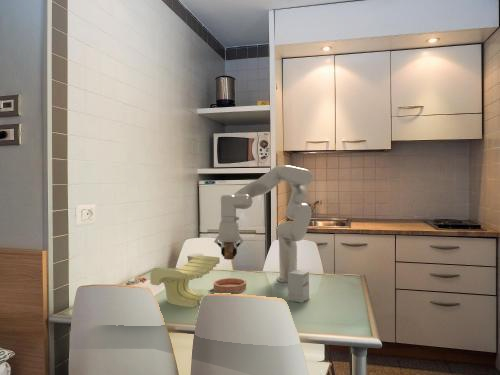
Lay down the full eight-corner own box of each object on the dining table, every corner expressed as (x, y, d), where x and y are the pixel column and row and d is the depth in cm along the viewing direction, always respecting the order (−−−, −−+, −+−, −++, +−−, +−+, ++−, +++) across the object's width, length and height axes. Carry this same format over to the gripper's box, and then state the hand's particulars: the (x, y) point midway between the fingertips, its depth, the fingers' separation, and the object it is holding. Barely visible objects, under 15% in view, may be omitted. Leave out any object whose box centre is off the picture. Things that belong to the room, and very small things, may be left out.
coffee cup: (201, 278, 223) (200, 256, 223) (185, 277, 225) (184, 256, 225) (206, 274, 233) (206, 253, 232) (191, 273, 234) (190, 253, 234)
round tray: (246, 284, 209) (246, 278, 208) (245, 293, 193) (245, 286, 193) (216, 284, 209) (216, 278, 209) (212, 294, 193) (211, 286, 193)
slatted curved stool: (193, 290, 201) (193, 254, 200) (220, 294, 193) (219, 257, 192) (151, 307, 175) (150, 267, 174) (179, 313, 167) (178, 270, 166)
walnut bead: (234, 257, 203) (234, 241, 203) (233, 259, 198) (233, 243, 198) (224, 257, 203) (224, 241, 203) (223, 259, 198) (223, 243, 198)
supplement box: (303, 303, 177) (302, 274, 177) (288, 300, 181) (287, 272, 181) (309, 298, 184) (309, 271, 183) (295, 296, 188) (294, 269, 187)
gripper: (246, 218, 203) (246, 254, 204) (212, 218, 204) (213, 254, 204) (245, 220, 196) (245, 257, 196) (210, 220, 197) (211, 257, 197)
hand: (229, 255), depth 200 cm, fingers closed on walnut bead, 4 cm apart
